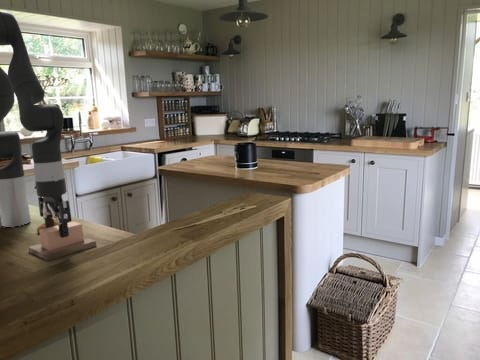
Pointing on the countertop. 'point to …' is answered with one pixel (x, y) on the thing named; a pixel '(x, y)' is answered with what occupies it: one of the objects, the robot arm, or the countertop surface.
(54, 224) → the pastry
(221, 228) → the countertop surface
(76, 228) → the tall block
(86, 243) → the walnut board
